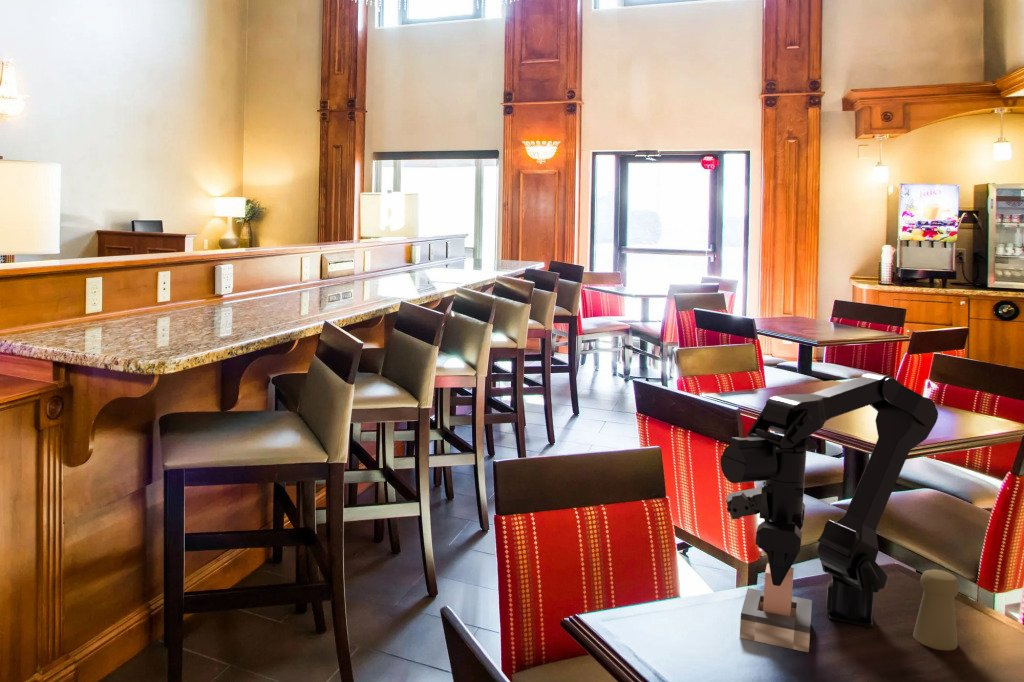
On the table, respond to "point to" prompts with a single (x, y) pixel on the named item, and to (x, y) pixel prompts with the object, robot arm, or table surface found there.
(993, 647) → the table surface
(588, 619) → the table surface
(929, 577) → the beige pepper mill
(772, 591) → the square peg
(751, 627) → the socket block
